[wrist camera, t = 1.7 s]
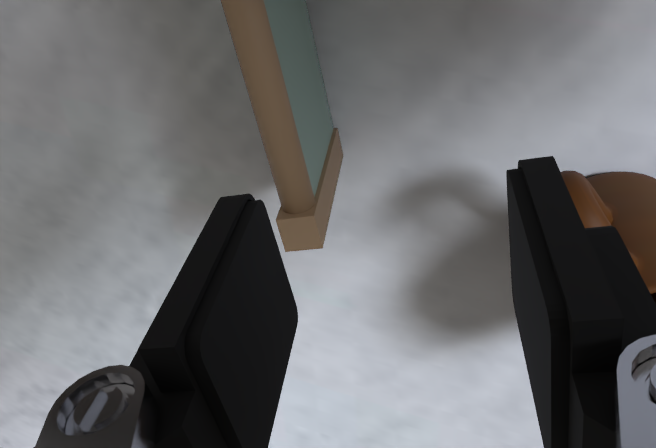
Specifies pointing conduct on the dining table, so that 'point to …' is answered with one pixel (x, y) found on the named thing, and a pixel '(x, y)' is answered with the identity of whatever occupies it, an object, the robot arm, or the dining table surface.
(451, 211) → the dining table surface
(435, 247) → the dining table surface
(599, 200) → the mug
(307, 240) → the gate
